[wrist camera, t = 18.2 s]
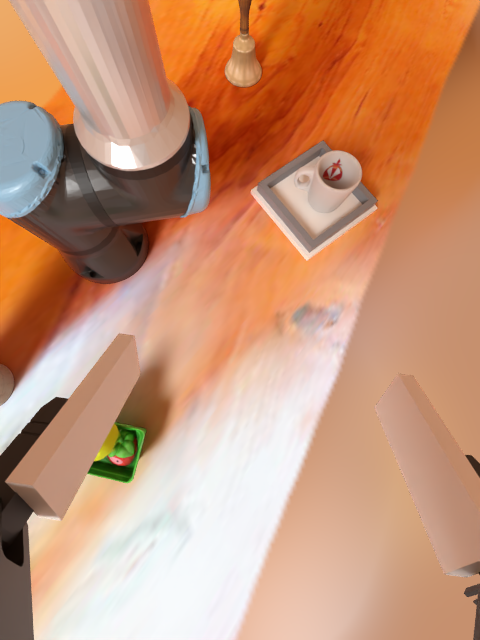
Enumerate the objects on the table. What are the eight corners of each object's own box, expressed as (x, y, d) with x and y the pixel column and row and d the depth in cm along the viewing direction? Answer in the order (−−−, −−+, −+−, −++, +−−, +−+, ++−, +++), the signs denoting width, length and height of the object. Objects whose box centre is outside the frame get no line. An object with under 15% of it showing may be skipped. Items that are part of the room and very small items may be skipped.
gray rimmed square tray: (250, 193, 51) (252, 182, 48) (318, 149, 53) (323, 135, 50) (306, 261, 49) (311, 254, 46) (374, 211, 51) (383, 201, 48)
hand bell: (235, 92, 55) (236, -15, 39) (218, 65, 56) (212, -51, 41) (268, 79, 56) (282, -32, 40) (250, 52, 57) (257, -66, 41)
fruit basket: (77, 455, 42) (21, 488, 31) (93, 401, 43) (46, 414, 32) (143, 470, 42) (111, 508, 31) (157, 415, 43) (132, 433, 32)
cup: (285, 210, 49) (295, 181, 41) (292, 175, 51) (303, 141, 43) (339, 222, 49) (359, 196, 41) (345, 187, 50) (365, 155, 43)
